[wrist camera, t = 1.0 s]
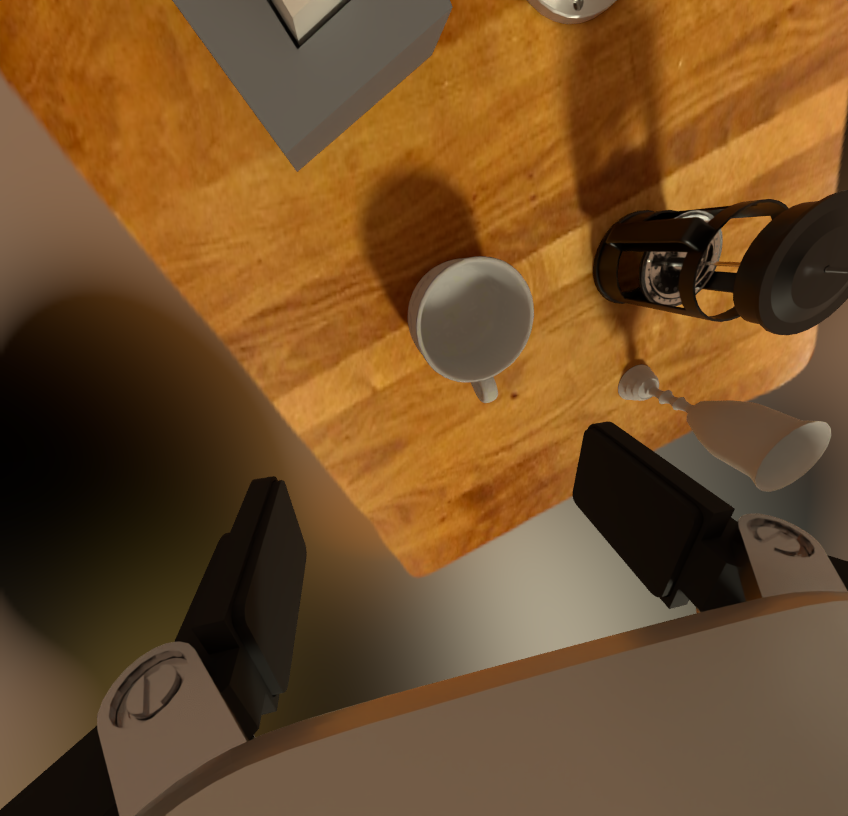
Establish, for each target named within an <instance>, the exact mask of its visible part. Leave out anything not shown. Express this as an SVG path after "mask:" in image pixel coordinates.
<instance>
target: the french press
mask: <svg viewBox="0 0 848 816" xmlns="http://www.w3.org/2000/svg"><path fill="white" fill-rule="evenodd" d="M757 216H771V218H772V221H771V222H770V223H769V224H768V225H767V226H766V227H765V228H764V229H763V230H762V231H761V232H760V233H759V234H758V236H757V237H756V238H755V239H754V241H753V242H752V243H751V245H750V247H749V248H748V250H747V252H746V253H745V255H744V257H743V259H742V261H741V262H719V258H720V255H721V250H722V232H721V228H722V227H723V226H724V225H725V224H726V223H727V222H728V221H729V220H730V219H731V218H743V217H757ZM622 251H639V252H644V253H643V256H642V259H641V263H640V269H639V283H640V287H639V288H637V289H636V290H633V291H629V292H622V291H621V289H620V287H619V283H618V264H619V259H620V256H621V253H622ZM716 266H729V267H739V268H738V271H737V273H730V272H716V271H715V269H716ZM593 274H594V281H595V285H596V287H597V289H598V291H599V292H600V294H601V295H602V296H603V297H604V298H606V299H607V300H609V301H611V302H614V303H621V304H623V303H629V304H634V305H638V306H643V307H648V308H653V309H658V310H662V311H667V312H672V313H677V314H682V315H687V316H691V317H696V318H701V319H706V320H711V321H718V322H723V321H729V320H732V319H735V318H738V317H740V316H741V317H742V318H743V319H744V320H746V321H749V322H751V323H756V324H760V325H761V326H762V327H763V328H764V329H765V330H766V331H769V332H771V333H773V334H778V335H792V334H797V333H800V332H803V331H806V330H808V329H810V328H812V327H814V326H815V325H817V324H819V323H820V322H822V321H823V320H824V319H826V318H827V317H829V316H830V315H831V314H832V313H833V312H835V311H836V310H837V309H838V308H839V307H840V306H841V305H842V304H843V303H844V302H845V301H846V300H847V299H848V190H846V191H840V192H837V193H834V194H831V195H829V196H827V197H825V198H823V199H822V200H820V201H816V202H806V203H801V204H798V205H795V206H793V207H791V208H788V207H787V206H786V205H785V204H783V203H782V202H780V201H777V200H772V199H765V200H755V201H746V202H740V203H737V204H734V205H732V206H724V207H715V208H705V209H696V210H686V211H673V210H665V211H656V212H655V211H649V210H644V211H636V212H633V213H630V214H628V215H626V216H625V217H623V218H621V219H620V220H619V221H618V222H616V223H615V224H614V225H613V226H612V227H611V228H610V230H609V231H608V232H607V233H606V235H605V236H604V238H603V239H602V241H601V243H600V245H599V247H598V250H597V253H596V256H595V260H594V267H593ZM701 289H707V290H715V291H723V292H731V293H733V301H734V305H735V306H734V307H733V308H731V309H730V310H728V311H726V312H724V313H721V314H719V315H716V316H709V317H708V316H707V315H706V314H704V313H703V312H702V311H701V309H700V307H699V306H698V303H697V300H696V296H695V295H696V294H697V293H698V292H699V291H700V290H701ZM681 304H682V305H683V306H684V308H681V307H675V306H678V305H681Z"/></svg>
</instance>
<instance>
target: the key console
mask: <svg viewBox="0 0 848 816" xmlns="http://www.w3.org/2000/svg"><path fill="white" fill-rule="evenodd" d="M172 1H173V2H174V3H175V5H176V6H177V7H178V9H179V10H180V12H181V13H182V14H183V16H184V17H185V18H186V20H187V21H188V23H189V24H190V25H191V27H192V28H193V29H194V31H195V32H196V34H197V35H198V36H199V38H200V39H201V40H202V42H203V43H204V45H205V46H206V47H207V49H208V50H209V51H210V53H211V54H212V56H213V57H214V58H215V60H216V61H217V62H218V64H219V65H220V67H221V68H222V69H223V71H224V72H225V73H226V75H227V76H228V78H229V79H230V80H231V82H232V83H233V84H234V86H235V87H236V89H237V90H238V91H239V93H240V94H241V95H242V97H243V98H244V100H245V101H246V102H247V104H248V105H249V106H250V108H251V109H252V110H253V112H254V113H255V115H256V116H257V117H258V119H259V120H260V121H261V123H262V124H263V126H264V127H265V128H266V130H267V131H268V132H269V134H270V135H271V137H272V138H273V139H274V141H275V142H276V143H277V145H278V146H279V148H280V149H281V150H282V152H283V153H284V154H285V156H286V157H287V159H288V160H289V161H290V163H291V164H292V165H293V167H294V168H295V170H296V171H297V172H298V171H299V170H300V169H301V168H302V167H303V166H305V165H306V164H307V163H308V162H309V161H310V160H312V159H313V158H314V157H315V156H316V155H317V154H318V153H320V152H321V151H322V150H323V149H324V148H325V147H326V146H328V145H329V144H330V143H331V142H332V141H333V140H335V139H336V138H337V137H338V136H339V135H340V134H341V133H343V132H344V131H345V130H346V129H347V128H348V127H349V126H351V125H352V124H353V123H354V122H355V121H356V120H358V119H359V118H360V117H361V116H362V115H363V114H364V113H366V112H367V111H368V110H369V109H370V108H371V107H372V106H374V105H375V104H376V103H377V102H378V101H379V100H381V99H382V98H383V97H384V96H385V95H386V94H387V93H389V92H390V91H391V90H392V89H393V88H394V87H396V86H397V85H398V84H399V83H400V82H401V81H402V80H404V79H405V78H406V77H407V76H408V75H409V74H410V73H412V72H413V71H414V70H415V69H416V68H417V67H419V66H420V65H421V64H422V63H423V62H424V61H425V60H427V59H428V58H429V57H430V56H431V55H432V53H433V51H434V49H435V46H436V44H437V42H438V39H439V37H440V35H441V33H442V30H443V28H444V26H445V23H446V21H447V19H448V16H449V14H450V12H451V9H452V5H451V2H450V0H349V1H348V2H347V3H346V4H345V5H344V6H342V7H341V8H340V9H339V10H338V11H337V12H336V13H335V14H334V15H333V16H332V17H331V18H329V19H328V20H327V21H326V22H325V23H324V24H323V25H322V26H321V27H320V28H319V29H318V30H316V31H315V32H314V33H313V34H312V35H311V36H310V37H309V38H308V39H307V40H306V41H305V42H303V43H302V44H301V45H300V46H299V44H298V43H297V41H296V39H295V38H294V36H293V34H292V33H291V31H290V30H289V28H288V26H287V25H286V23H285V21H284V20H283V18H282V17H281V15H280V13H279V12H278V10H277V8H276V7H275V5H274V4H273V2H272V0H172Z"/></svg>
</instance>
